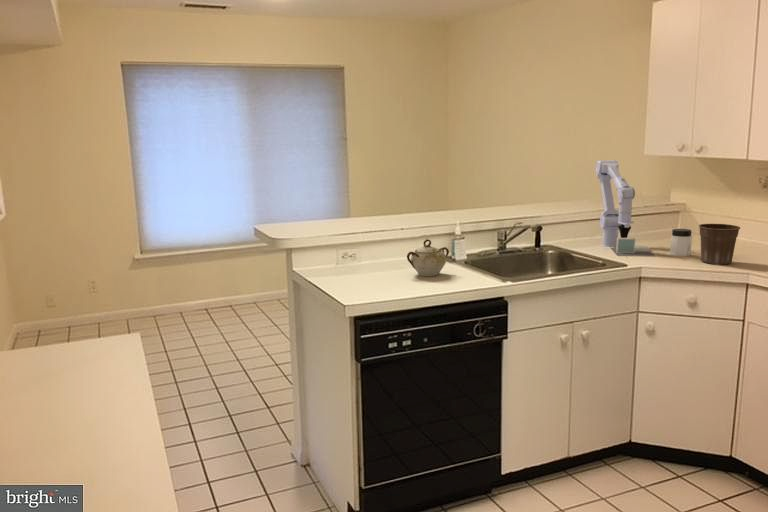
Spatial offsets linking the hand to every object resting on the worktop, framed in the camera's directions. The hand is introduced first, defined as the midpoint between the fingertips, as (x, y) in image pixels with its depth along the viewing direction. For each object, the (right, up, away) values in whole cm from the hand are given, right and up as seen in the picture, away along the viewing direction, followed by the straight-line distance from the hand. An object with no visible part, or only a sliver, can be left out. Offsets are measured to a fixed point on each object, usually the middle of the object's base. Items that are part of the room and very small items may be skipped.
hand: (623, 240), depth 310 cm
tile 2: (+8, -5, +1) cm, 10 cm away
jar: (+22, -7, -11) cm, 26 cm away
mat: (+3, -6, -3) cm, 8 cm away
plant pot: (+30, -11, -29) cm, 43 cm away
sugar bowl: (-98, -16, -41) cm, 107 cm away
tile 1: (-1, -6, -5) cm, 8 cm away
